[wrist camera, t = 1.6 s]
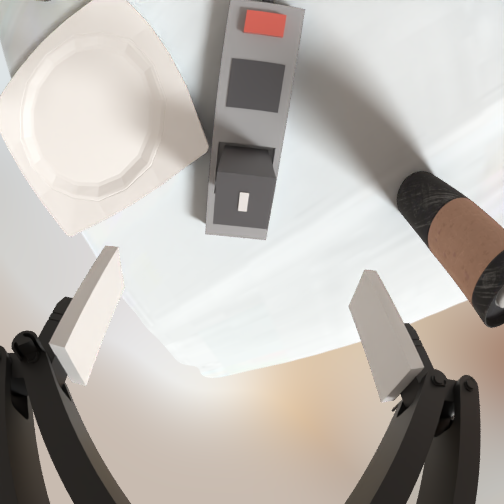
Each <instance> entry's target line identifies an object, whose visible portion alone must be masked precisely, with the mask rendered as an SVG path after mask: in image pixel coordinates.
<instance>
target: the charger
mask: <svg viewBox="0 0 504 504" xmlns="http://www.w3.org/2000/svg"><path fill="white" fill-rule="evenodd" d="M275 184H276V175H275V172H274V168H273V165H272V162H271V158H270V155H269V152H268V150H264V149H256V148H248V147H239V146H229V145H225V146H224V150H223V153H222V157H221V160H220V164H219V167H218V171H217V179H216V190H215V203H214V216H213V224H219V225H230V226H240V227H250V228H259V229H268V223H269V218H270V212H271V207H272V201H273V195H274V190H275Z"/></svg>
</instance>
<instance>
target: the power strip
mask: <svg viewBox="0 0 504 504" xmlns="http://www.w3.org/2000/svg"><path fill="white" fill-rule="evenodd" d="M304 12H305V9H301V8H296V7H291V6H285V5H279V4H273V0H263V2H258V1H249V0H230V6H229V12H228V18H227V25H226V31H225V38H224V45H223V52H222V59H221V67H220V75H219V83H218V91H217V100H216V109H215V118H214V128H213V138H212V148H211V160H210V172H209V185H208V199H207V214H206V231H205V234H210V235H220V236H230V237H240V238H250V239H260V240H266V236H267V231H268V229H259V228H250V227H240V226H230V225H219V224H213V216H214V203H215V190H216V179H217V171H218V167H219V164H220V160H221V157H222V153H223V150H224V146H225V145H229V146H239V147H248V148H256V149H264V150H268V152H269V155H270V158H271V162H272V165H273V168H274V172H275V175H276V180H277V175H278V169H279V163H280V158H281V152H282V146H283V140H284V134H285V129H286V123H287V117H288V111H289V105H290V99H291V93H292V87H293V81H294V75H295V69H296V63H297V56H298V50H299V44H300V38H301V31H302V25H303V19H304ZM275 186H276V184H275ZM274 192H275V190H274ZM273 197H274V195H273ZM272 203H273V201H272ZM271 208H272V207H271ZM270 214H271V212H270ZM269 220H270V218H269ZM268 225H269V223H268Z"/></svg>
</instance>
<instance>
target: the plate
mask: <svg viewBox="0 0 504 504" xmlns="http://www.w3.org/2000/svg"><path fill="white" fill-rule="evenodd" d="M0 133H1V135H2V137H3V139H4V141H5V143H6V145H7V147H8V149H9V151H10V153H11V155H12V156H13V158H14V160H15V162H16V163H17V165H18V167H19V168H20V170H21V172H22V173H23V175H24V177H25V178H26V180H27V181H28V183H29V184H30V186H31V187H32V189H33V190H34V192H35V193H36V195H37V196H38V198H39V199H40V201H41V202H42V203H43V205H44V206H45V207H46V209H47V210H48V211H49V212H50V214H51V215H52V217H53V218H54V219H55V221H56V222H57V223H58V224H59V226H60V227H61V228H62V229H63V231H64V232H65V233H66V234H67V235H68V236H70V237H72V236H74V235H76V234H78V233H80V232H82V231H84V230H86V229H88V228H90V227H92V226H94V225H96V224H98V223H100V222H102V221H104V220H106V219H108V218H110V217H111V216H113V215H115V214H116V213H118V212H120V211H122V210H123V209H125V208H127V207H129V206H131V205H132V204H134V203H136V202H137V201H138V200H140V199H141V198H143V197H144V196H146V195H148V194H149V193H151V192H152V191H154V190H155V189H157V188H158V187H160V186H161V185H163V184H164V183H165V182H167V181H168V180H169V179H171V178H172V177H173V176H175V175H176V174H177V173H179V172H180V171H181V170H183V169H184V168H185V167H187V166H188V165H190V164H191V163H192V162H194V161H195V160H197V159H198V158H199V157H201V156H202V155H204V154H205V153H207V151H208V148H209V144H208V141H207V139H206V136H205V133H204V131H203V128H202V125H201V123H200V120H199V117H198V115H197V112H196V109H195V107H194V104H193V101H192V99H191V96H190V93H189V91H188V88H187V86H186V84H185V82H184V80H183V78H182V76H181V74H180V72H179V71H178V69H177V67H176V65H175V63H174V61H173V59H172V57H171V56H170V54H169V52H168V51H167V49H166V48H165V46H164V45H163V43H162V42H161V40H160V39H159V37H158V36H157V34H156V33H155V31H154V30H153V28H152V27H151V26H150V25H149V23H148V22H147V21H146V20H145V19H144V18H143V17H142V16H141V15H140V14H139V13H138V12H137V10H136V9H135V8H134V7H133V6H132V5H131V4H130V3H129V2H128V1H127V0H92V1H91V2H89V3H88V4H87V5H85V6H84V7H82V8H81V9H80V10H78V11H77V12H76V13H74V14H73V15H72V16H71V17H69V18H68V19H67V20H66V21H64V22H63V23H62V24H61V25H60V26H59V27H57V28H56V29H55V30H54V31H53V32H52V33H51V34H50V35H49V36H48V37H47V38H46V39H45V40H44V41H43V42H42V43H41V44H40V45H39V46H38V47H37V48H36V49H35V50H34V51H33V52H32V54H31V55H30V56H29V57H28V58H27V59H26V61H25V62H24V63H23V64H22V66H21V67H20V68H19V69H18V71H17V72H16V73H15V75H14V76H13V77H12V79H11V80H10V82H9V83H8V85H7V86H6V88H5V89H4V91H3V92H2V94H1V96H0Z"/></svg>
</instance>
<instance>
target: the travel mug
mask: <svg viewBox="0 0 504 504" xmlns="http://www.w3.org/2000/svg"><path fill="white" fill-rule="evenodd" d="M397 204H398V208H399V210H400V212H401V214H402V215H403V216H404V218H405V219H406V220H407V221H408V223H409V224H410V225H411V226H412V228H413V229H414V230H415V231H416V233H417V234H418V235H419V236H420V238H421V239H422V240H423V241H424V243H425V244H426V245H427V247H428V248H429V249H430V251H431V252H432V253H433V255H434V256H435V257H436V258H437V259H438V261H439V262H440V263H441V264H442V266H443V267H444V268H445V269H446V271H447V272H448V273H449V275H450V276H451V277H452V279H453V280H454V281H455V282H456V284H457V285H458V287H459V288H460V289H461V291H462V292H463V293H464V295H465V296H466V298H467V299H468V300H469V302H470V303H471V305H472V306H473V307H474V309H475V310H476V312H477V313H478V315H479V316H480V318H481V319H482V321H483V322H484V324H485V325H486V326H488V327H490V328H492V327H497V326H500V325H502V324H504V228H502V227H501V226H500V225H499V224H498V223H497V222H496V221H495V220H494V219H493V218H491V217H490V216H489V215H488V214H487V213H486V212H485V211H483V210H482V209H481V208H480V207H479V206H477V205H476V204H475V203H474V202H473V201H471V200H470V199H469V198H467V197H466V196H464V195H463V194H462V193H460V192H459V191H457V190H456V189H454V188H453V187H451V186H450V185H448V184H447V183H445V182H444V181H442V180H441V179H439V178H438V177H436V176H434V175H433V174H431V173H428V172H424V171H420V172H416V173H414V174H412V175H410V176H409V177H408V178H407V179H406V180H405V181H404V182H403V183H402V185H401V187H400V189H399V192H398V197H397Z"/></svg>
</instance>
